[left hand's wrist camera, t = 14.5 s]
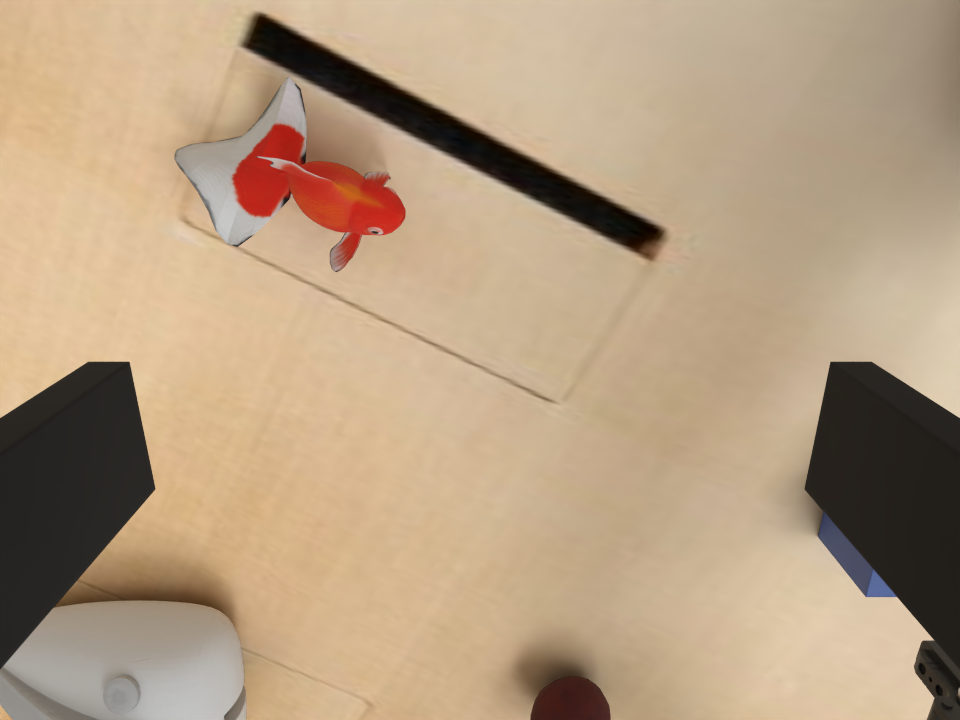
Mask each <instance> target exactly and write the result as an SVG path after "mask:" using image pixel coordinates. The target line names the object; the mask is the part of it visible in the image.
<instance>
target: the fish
mask: <svg viewBox="0 0 960 720" xmlns="http://www.w3.org/2000/svg"><path fill="white" fill-rule="evenodd" d="M175 161H176V162H177V164H178V166H179V168H180V169H181V170H182V171H183V172H184V174H185V175H186V176H187V177H188V179H189V180H190V182H191V183H192V184H193V186H194V187H195V189H196V190H197V192H198V193H199V195H200V197H201V199H202V200H203V202H204V204H205V206H206V208H207V210H208V211H209V214H210V217H211V219H212V222H213V225H214V227H215V230H216V231H217V232H218V234H219V235H220V236H221V237H222V238H223V239H224V241H225V242H226V243H227V244H230V245H233V246H236V247H238V246H239V245H241V244H242V243H243V242H245V241H246V240H247V239H249V238H250V237H251V236H253V235H254V234H255V233H256V232H257V231H259V230H260V229H261V228H262V227H263V226H264V225H265V224H266V223H267V222H268V221H269V220H270V219H271V218H272V217H273V216H274V215H275V214H276V213H277V212H278V211H279V210H280V209H281V207H282V206H283V205H284V204H285V203H286V202H287V201H288V200H289V198H290V195H291V196H293V197H294V199H295V201H296V202H297V204H298V206H299V207H300V209H301V210H302V211H303V212H304V213H305V215H307V216H308V217H309V218H310V219H312V220H313V221H314V222H316V223H318V224H319V225H321V226H323V227H325V228H328V229H330V230H334V231H337V232H346V233H345V234H344V236H343V238H342V239H341V241H340V242H339V243H338V244H337V245H336V246H334V247H333V248H332V249H331V251H330V264H331V267H332V269H333V270H334V271H335V272H337V271H340V270H341V269H342V268H344V267H345V266H346V264H347V263H348V261H349V260H350V259H351V258H352V257H353V256H354V254H355V252H356V250H357V248H358V246H359V243H360V240H361V237H362V235H386V234H389V233H392V232H393V231H394V230H396V229H397V228H398V227H399V226H400V225H401V224H402V222H403V221H404V219H405V208H404V206H403V204H402V202H401V200H400V198H399V197H398V195H397V193H396V192H395V191H394V190H393V189H391V188H389V187H383V186H384V184H385V183H386V182H387V180H388V179H390V178H391V177H390V176H389V173H384V172H370V173H367V174H366V175H365V177H363V176H361V175H360V174H359V173H357V172H356V171H354V170H353V169H351V168H349V167H346V166H343V165H341V164H337V163H332V162H324V161H314V162H309V163H305V161H306V116H305V109H304V104H303V99H302V94H301V89H300V88H299V87H298V86H297V85H296V84H295V83H294V82H293V81H292V80H291V79H290V78H289V77H288V78H287V79H286V80H285V81H284V82H283V84H282V85H281V86H280V88H279V89H278V91H277V93H276V94H275V96H274V97H273V99H272V101H271V102H270V104H269V105H268V107H267V108H266V110H265V111H264V112H263V114H262V115H261V117H260V118H259V119H258V121H257V122H256V123H255V124H254V125H253V126H252V127H251V128H250V129H249V130H248V131H247V132H246V133H245V134H244V135H243V136H241V137H236V138H232V139H227V140H222V141H218V142H208V143H197V144H190V145H188V146H185V147H182V148H180V149H177V151H176V153H175Z"/></svg>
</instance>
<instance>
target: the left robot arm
mask: <svg viewBox="0 0 960 720" xmlns="http://www.w3.org/2000/svg"><path fill="white" fill-rule="evenodd" d="M154 490H155V485H154V480H153V475H152V470H151V465H150V460H149V455H148V450H147V445H146V441H145V436H144V431H143V426H142V421H141V416H140V411H139V406H138V401H137V397H136V392H135V387H134V382H133V377H132V372H131V367H130V362H87V363H86V364H84V365H83V366H81V367H80V368H78V369H76V370H75V371H73V372H72V373H70V374H69V375H67V376H66V377H64V378H62V379H61V380H59V381H58V382H56V383H55V384H53V385H51V386H50V387H48V388H47V389H45V390H44V391H42V392H41V393H39V394H37V395H36V396H34V397H33V398H31V399H30V400H28V401H26V402H25V403H23V404H22V405H20V406H19V407H17V408H16V409H14V410H12V411H11V412H9V413H8V414H6V415H5V416H3V417H1V418H0V669H1V668H2V667H3V666H4V665H5V664H6V662H7V661H8V660H9V659H10V658H11V657H12V655H13V654H14V653H15V652H16V651H17V650H18V648H19V647H20V646H21V645H22V644H23V643H24V641H25V640H26V639H27V638H28V637H29V636H30V635H31V633H32V632H33V631H34V630H35V629H36V628H37V626H38V625H39V624H40V623H41V622H42V621H43V619H44V618H45V617H46V616H47V615H48V614H49V612H50V611H51V610H52V609H53V608H54V607H55V605H56V604H57V603H58V602H59V601H60V600H61V598H62V597H63V596H64V595H65V594H66V593H67V591H68V590H69V589H70V588H71V587H72V586H73V584H74V583H75V582H76V581H77V580H78V579H79V577H80V576H81V575H82V574H83V573H84V572H85V571H86V569H87V568H88V567H89V566H90V565H91V564H92V562H93V561H94V560H95V559H96V558H97V557H98V555H99V554H100V553H101V552H102V551H103V550H104V548H105V547H106V546H107V545H108V544H109V543H110V541H111V540H112V539H113V538H114V537H115V536H116V534H117V533H118V532H119V531H120V530H121V529H122V527H123V526H124V525H125V524H126V523H127V522H128V520H129V519H130V518H131V517H132V516H133V515H134V513H135V512H136V511H137V510H138V509H139V508H140V507H141V505H142V504H143V503H144V502H145V501H146V500H147V498H148V497H149V496H150V495H151V494H152V493H153V491H154ZM805 490H806V491H807V493H808V494H809V495H810V496H811V497H812V498H813V500H814V501H815V502H816V503H817V504H818V505H819V507H820V508H821V509H822V510H823V511H824V512H825V513H826V515H827V516H828V517H829V518H830V519H831V520H832V522H833V523H834V524H835V525H836V526H837V527H838V529H839V530H840V531H841V532H842V533H843V534H844V536H845V537H846V538H847V539H848V540H849V541H850V543H851V544H852V545H853V546H854V547H855V548H856V550H857V551H858V552H859V553H860V554H861V555H862V557H863V558H864V559H865V560H866V561H867V562H868V564H869V565H870V566H871V567H872V568H873V569H874V571H875V572H876V573H877V574H878V575H879V576H880V577H881V579H882V580H883V581H884V582H885V583H886V584H887V586H888V587H889V588H890V589H891V590H892V591H893V593H894V594H895V595H896V596H897V597H898V598H899V600H900V601H901V602H902V603H903V604H904V605H905V607H906V608H907V609H908V610H909V611H910V612H911V614H912V615H913V616H914V617H915V618H916V619H917V621H918V622H919V623H920V624H921V625H922V626H923V628H924V629H925V630H926V631H927V632H928V633H929V635H930V636H931V637H932V638H933V639H934V640H935V641H936V643H937V644H938V645H939V646H940V647H941V648H942V650H943V651H944V652H945V653H946V654H947V655H948V657H949V658H950V659H951V660H952V661H953V662H954V664H955V665H956V666H957V667H958V668H959V669H960V418H959V417H957V416H955V415H954V414H952V413H951V412H949V411H948V410H946V409H944V408H943V407H941V406H940V405H938V404H937V403H935V402H934V401H932V400H930V399H929V398H927V397H926V396H924V395H923V394H921V393H919V392H918V391H916V390H915V389H913V388H912V387H910V386H909V385H907V384H905V383H904V382H902V381H901V380H899V379H898V378H896V377H894V376H893V375H891V374H890V373H888V372H887V371H885V370H884V369H882V368H880V367H879V366H877V365H876V364H874V363H873V362H830V367H829V372H828V377H827V382H826V387H825V392H824V397H823V401H822V406H821V411H820V416H819V421H818V426H817V431H816V436H815V441H814V445H813V450H812V455H811V460H810V465H809V470H808V475H807V480H806V485H805Z"/></svg>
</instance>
